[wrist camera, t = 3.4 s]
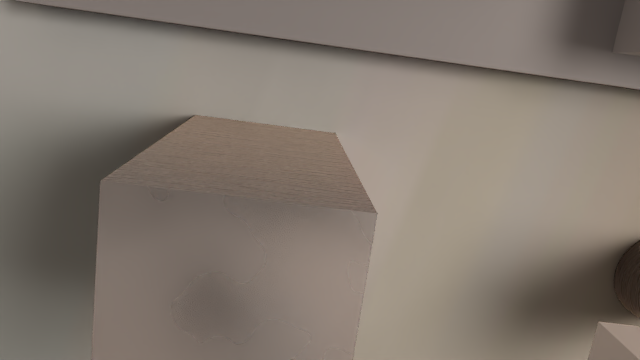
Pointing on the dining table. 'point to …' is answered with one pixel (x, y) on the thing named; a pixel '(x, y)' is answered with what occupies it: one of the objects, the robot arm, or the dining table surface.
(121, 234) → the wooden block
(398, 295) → the dining table surface
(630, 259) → the rounded metal cylinder
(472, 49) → the stand
